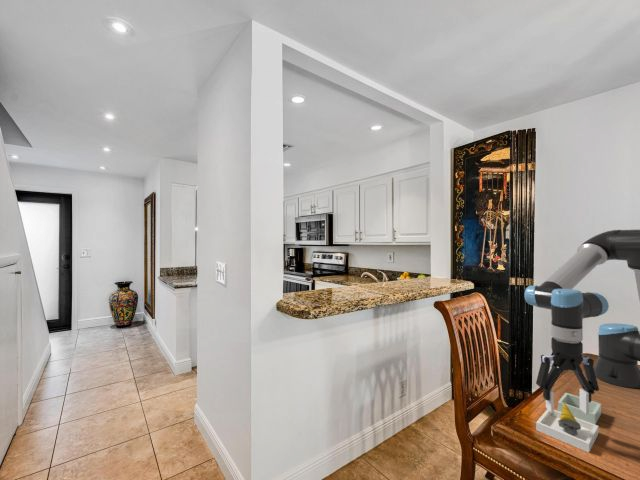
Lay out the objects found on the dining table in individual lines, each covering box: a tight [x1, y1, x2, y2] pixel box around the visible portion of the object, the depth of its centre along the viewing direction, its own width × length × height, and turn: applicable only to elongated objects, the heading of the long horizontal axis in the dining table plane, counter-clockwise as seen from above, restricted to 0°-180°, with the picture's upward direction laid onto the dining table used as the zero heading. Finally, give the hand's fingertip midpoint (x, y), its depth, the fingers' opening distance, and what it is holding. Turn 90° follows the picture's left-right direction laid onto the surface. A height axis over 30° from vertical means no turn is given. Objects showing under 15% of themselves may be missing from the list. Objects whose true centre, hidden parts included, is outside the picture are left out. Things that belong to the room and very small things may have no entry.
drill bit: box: [558, 402, 581, 436], centre depth 93 cm, size 5×5×10 cm
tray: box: [535, 408, 599, 453], centre depth 93 cm, size 13×13×2 cm
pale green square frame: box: [557, 392, 602, 425], centre depth 103 cm, size 10×10×4 cm
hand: (566, 410), depth 93 cm, fingers open, 9 cm apart
